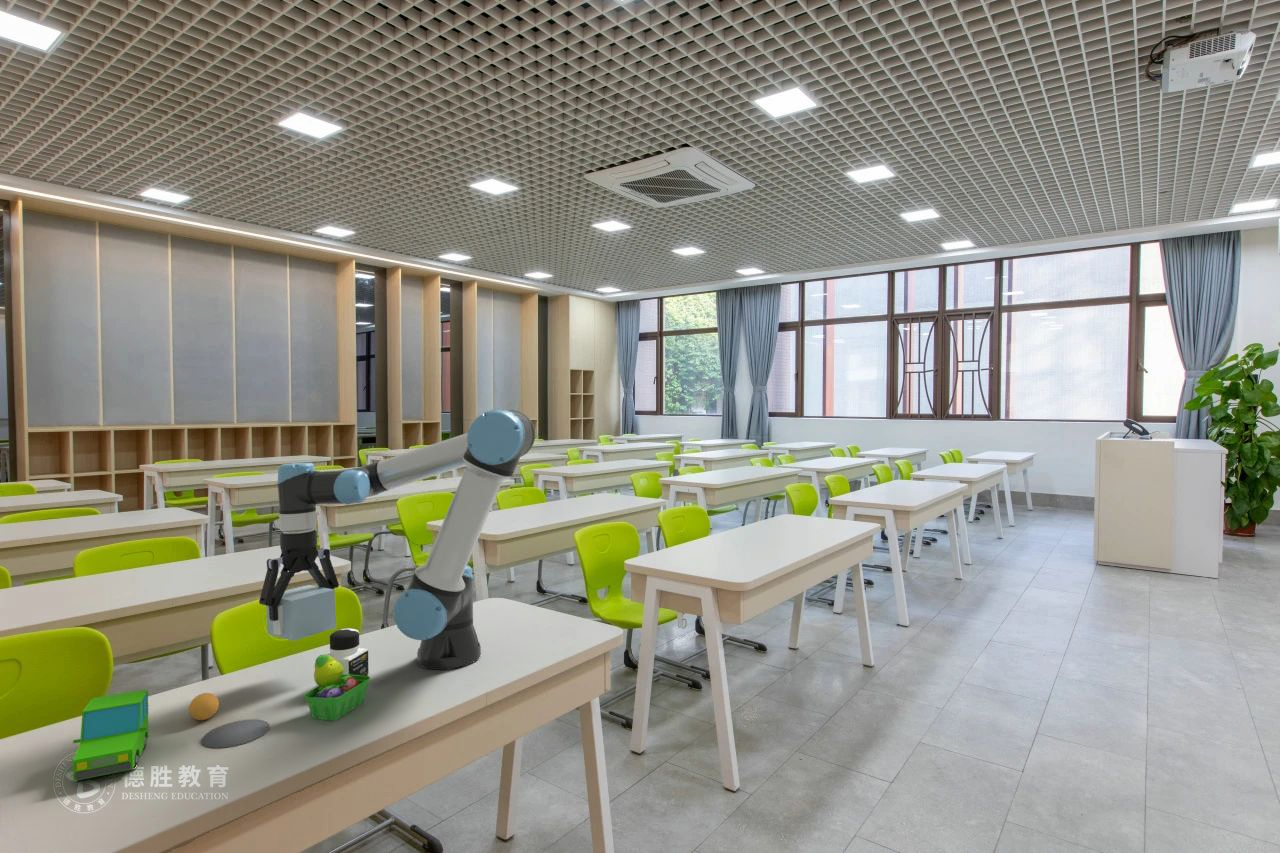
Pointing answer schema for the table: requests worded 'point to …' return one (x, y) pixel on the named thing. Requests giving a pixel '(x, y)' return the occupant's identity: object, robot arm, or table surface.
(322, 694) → the fruit basket
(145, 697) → the toy car
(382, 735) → the table surface
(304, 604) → the pale blue cube
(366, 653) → the medicine bottle
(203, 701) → the ball
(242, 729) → the disc
